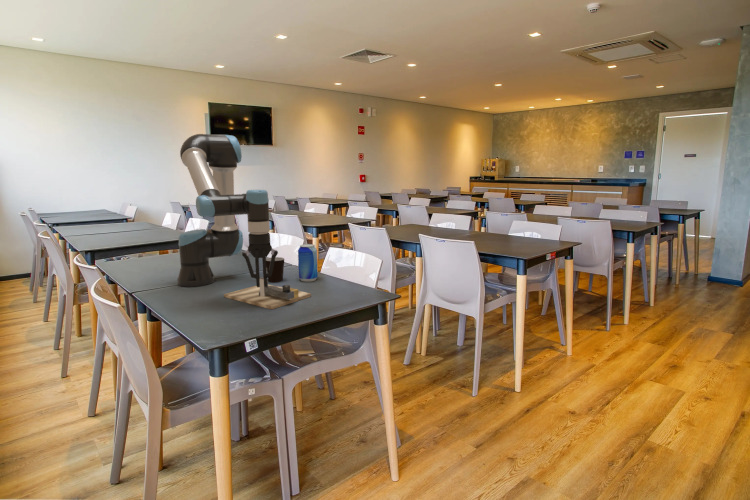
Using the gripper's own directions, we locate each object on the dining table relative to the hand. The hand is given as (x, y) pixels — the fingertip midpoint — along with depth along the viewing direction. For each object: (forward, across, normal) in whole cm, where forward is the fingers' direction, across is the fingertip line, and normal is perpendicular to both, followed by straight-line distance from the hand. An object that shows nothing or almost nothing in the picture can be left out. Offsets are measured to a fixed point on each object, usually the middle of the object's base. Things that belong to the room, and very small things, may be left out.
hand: (262, 295), depth 162 cm
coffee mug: (+4, -8, -36) cm, 37 cm away
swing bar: (+1, -6, -1) cm, 6 cm away
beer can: (+4, -21, -31) cm, 38 cm away
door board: (+3, -1, -8) cm, 9 cm away
